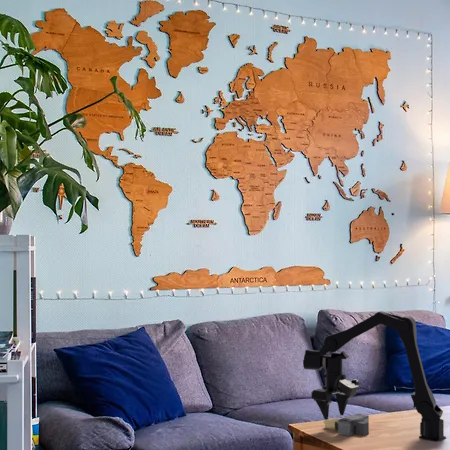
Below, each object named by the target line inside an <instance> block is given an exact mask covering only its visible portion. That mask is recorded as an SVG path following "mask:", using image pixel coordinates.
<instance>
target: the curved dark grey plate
mask: <svg viewBox="0 0 450 450" xmlns="http://www.w3.org/2000/svg"><path fill="white" fill-rule="evenodd" d="M369 416H370V415H369V414H368V415H367V414H362V413H356V414H353V415H349V416H346V417H343V418H337V419H338V430H337V431H338V432H337V433H338V435H341V436H346V437H351V436H354V435H355V433H354V425H355V426H356V422H359V421H365V422H369V419H370V418H369Z"/></svg>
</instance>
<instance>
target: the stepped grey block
mask: <svg viewBox="0 0 450 450" xmlns="http://www.w3.org/2000/svg"><path fill="white" fill-rule="evenodd" d="M369 424H370V423H369V422H365V421H359V422H356V426H355V425H354V434H356V435H358V436H359V435H360V436H367V435H369V432H370V431H369V430H370V427H369V426H370V425H369ZM337 431H338V423H337Z"/></svg>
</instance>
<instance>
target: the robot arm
mask: <svg viewBox="0 0 450 450" xmlns="http://www.w3.org/2000/svg"><path fill="white" fill-rule="evenodd" d="M379 325H383V326H385V327H388V328H390V329H394V330H396V332H397V335H398V336H399V339H400V340H401V343H402V344H403V346H404V348H405V353H406V357H407V361H408V365H409V370H410V373H411V376H412V382H413V385H414V391H413V392H412V393H411V395H410V397H411V400H412V402H413V408H415V411H416V413H418V414H420V415H421V419H420V420H421V421H420V423H419V429H420V430H419V431H420V432H419V435H418V438H419V439H422V440H427V441H428V440H429V441H433V442H439V441H441V440H445V439H446V438H447V436H445V435H444V433H445V432H444V429H445V427H444V419H442V418H441V417H442V416H443V412H444V410H442V409H441V407H440V406H439V405H438V404H437V401H436V399H435V397H434V393H433V391H432V390H431V388H430V387H429V385H428V381H427V379H426V374H425V371H424V367H423V366H424V365H423V362H422V359H421V355H420V349H419V347H418V343H417V339H418V337H417V335H418V333H417V332H418V331H417V321H416V320H415V318H414V317H412V316H410V315H403V316H400V315H397V314H392V313H388V312H385V311H384V310H382V311H381V310H380V311H377V312H375V314H373V315H371V316H369V317H367V318H366V319H364V320H361V321H360V322H359V323H357V324H355V325H353V326H351V327H349V328H347V329H344V330H342V331H338V332H336V333H332V334H329V335H327V336H326V337H325V338H324V340H323V345H322V347H321V348H320V349H319V350H313V349H305V352H304V355H303V359H302V365H303V366H302V367H303V369H304V370H307V371H308V370H310V371H311V370H312V371H321V370H322V369H323V368H325V373H323V374H322V378H325V385H323V386H322V388H317V389H313V390H312V391H311V394H310V395H311V399H313V400H314V401H315V402H316V404H317V406H318V408H319V410H320V412H321V414H322V417H323V419H324V420H328V419H329V415H330V413H329V411H330V410H329V409H330V404H331V403H332V402H333V400H332V398H333V396H334V395H335V398H336V403H337V408H338V412H339V415H340V416H344V414H345V412H346V408H347V404H348V402H349V400H350V399H351V398H352V397H354V396H356V395H357V391H359V390H360V381H359V380H358V379H356V378H355V379H352V380H348V379H346V378H347V377H346V373H345V374H344V373H343V360H347V359H348V358H349V356H348V354H346V352H345V351H344V350H343V351H341V352H340V353H337V351H340V350H342V348H344V347H345V346H347V344H349V343H350V342H351V341H352V340H353V339H355V338H357V337H359V336H360V335H361V336H362V334H364V333H366V332H369V331H370V330H372V329H373V328H375V327H377V326H379ZM329 353H331V354H329Z"/></svg>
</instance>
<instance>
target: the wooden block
mask: <svg viewBox="0 0 450 450" xmlns="http://www.w3.org/2000/svg"><path fill="white" fill-rule="evenodd" d="M338 419H339V418H334V417H330V418H329V417H328V420H326V419H324V421H323V424H324V429H327V430H333V431H336V430H337V423H338ZM337 431H338V430H337Z"/></svg>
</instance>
